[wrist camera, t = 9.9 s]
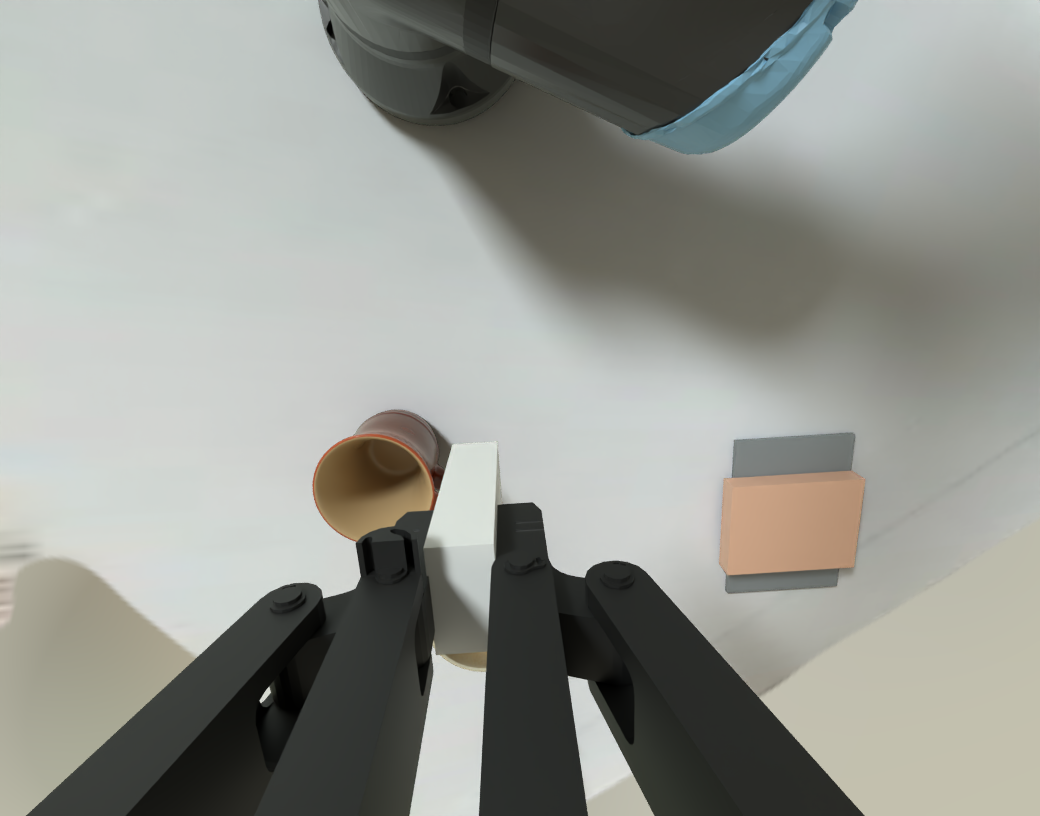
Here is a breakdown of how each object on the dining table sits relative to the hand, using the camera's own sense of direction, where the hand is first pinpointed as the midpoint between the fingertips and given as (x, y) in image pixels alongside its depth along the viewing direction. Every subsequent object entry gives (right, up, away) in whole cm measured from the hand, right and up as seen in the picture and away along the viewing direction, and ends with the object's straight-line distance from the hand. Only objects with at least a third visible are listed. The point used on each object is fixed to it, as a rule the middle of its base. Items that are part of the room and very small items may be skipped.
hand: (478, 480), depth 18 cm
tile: (+21, -9, +32) cm, 39 cm away
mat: (+27, -8, +34) cm, 44 cm away
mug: (-8, -1, +31) cm, 32 cm away
